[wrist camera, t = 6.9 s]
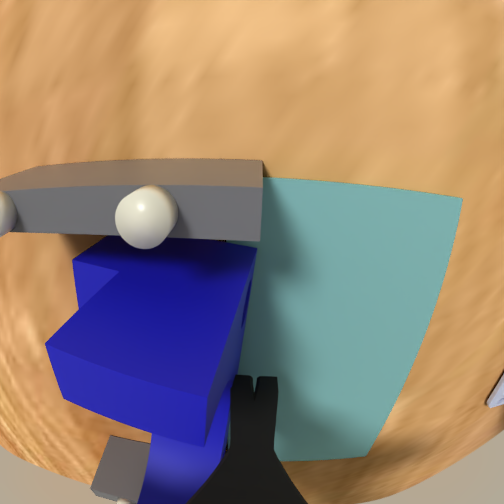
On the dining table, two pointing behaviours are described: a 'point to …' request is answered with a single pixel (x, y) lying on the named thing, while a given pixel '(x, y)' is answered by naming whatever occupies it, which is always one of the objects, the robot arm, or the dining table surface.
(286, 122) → the dining table surface
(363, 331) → the mat
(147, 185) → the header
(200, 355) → the blue bent block
